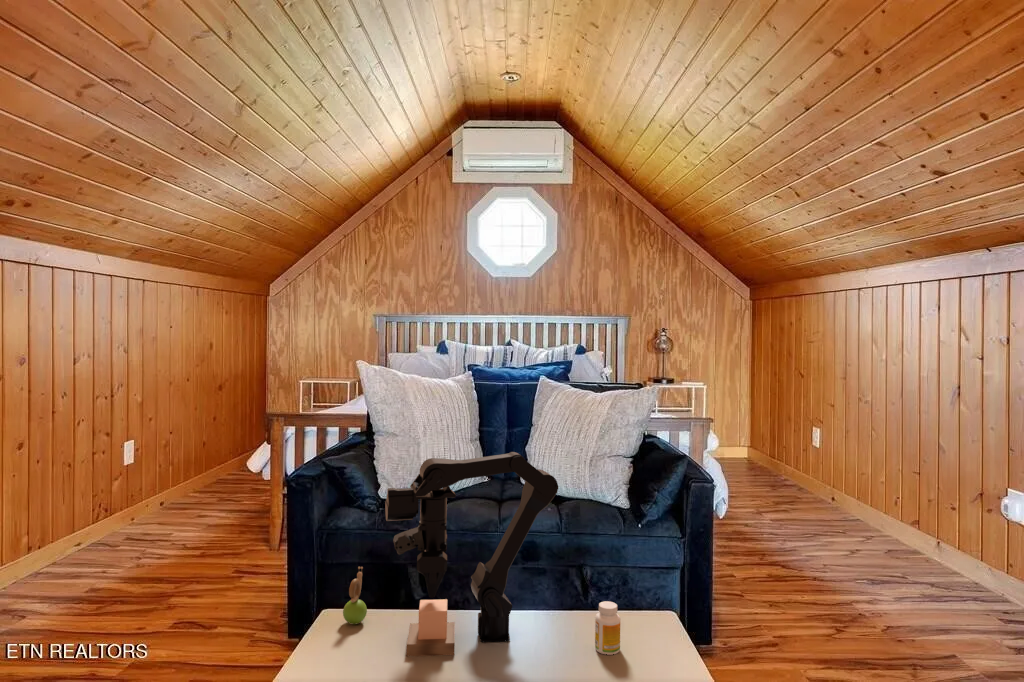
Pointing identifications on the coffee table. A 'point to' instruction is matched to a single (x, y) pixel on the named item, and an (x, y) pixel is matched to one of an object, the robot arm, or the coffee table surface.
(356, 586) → the snail figurine
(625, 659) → the coffee table surface
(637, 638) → the coffee table surface
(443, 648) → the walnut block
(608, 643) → the supplement bottle
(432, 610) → the terracotta cube
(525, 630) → the coffee table surface
